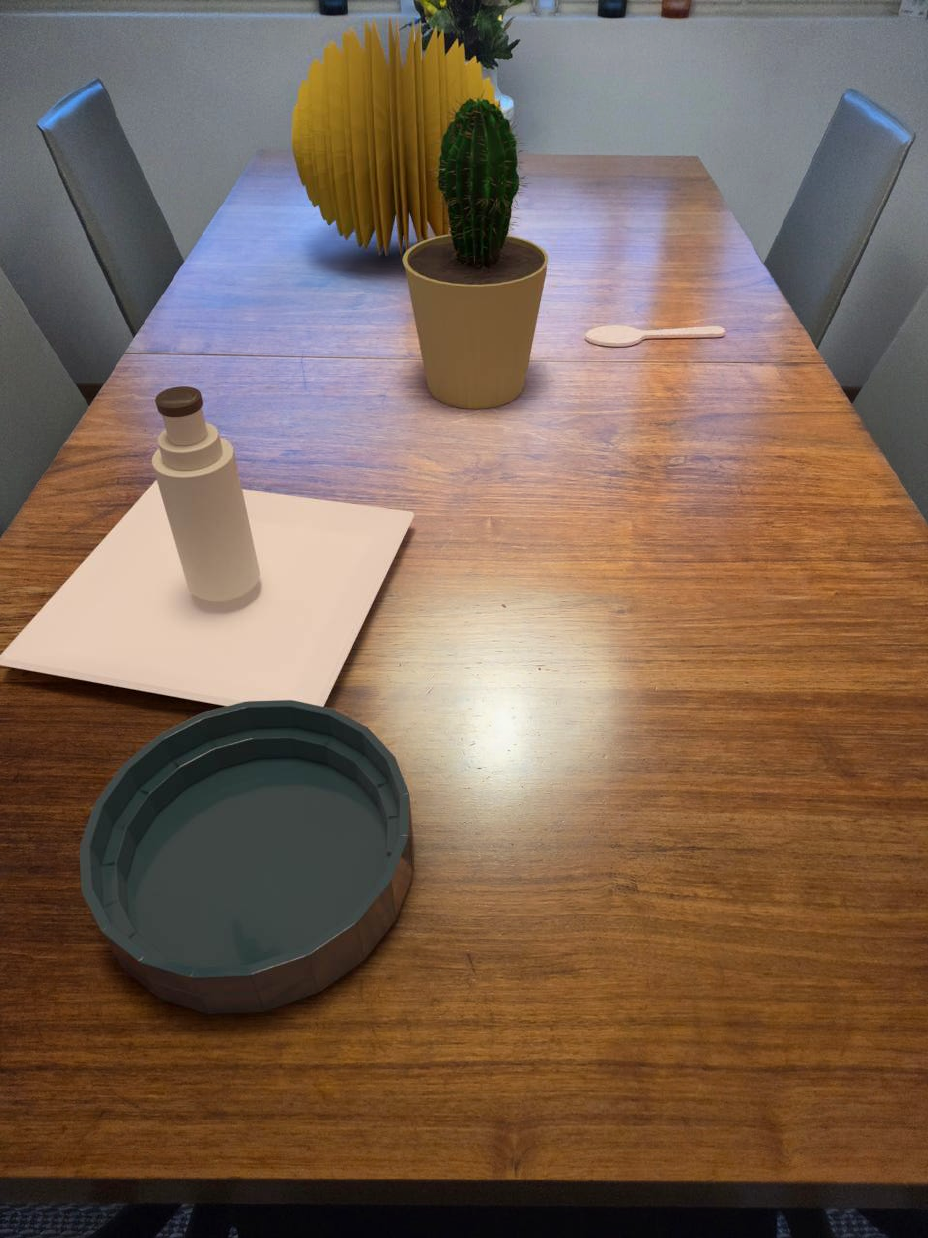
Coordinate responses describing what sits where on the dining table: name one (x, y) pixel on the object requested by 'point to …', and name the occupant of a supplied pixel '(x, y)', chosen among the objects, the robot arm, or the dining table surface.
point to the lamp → (381, 132)
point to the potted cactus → (476, 269)
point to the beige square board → (219, 605)
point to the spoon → (645, 334)
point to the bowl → (249, 855)
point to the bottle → (203, 500)
